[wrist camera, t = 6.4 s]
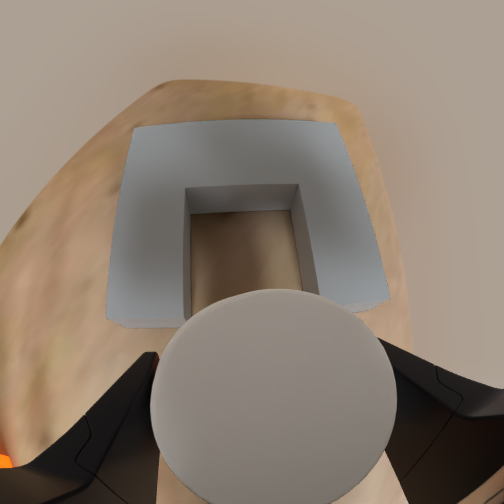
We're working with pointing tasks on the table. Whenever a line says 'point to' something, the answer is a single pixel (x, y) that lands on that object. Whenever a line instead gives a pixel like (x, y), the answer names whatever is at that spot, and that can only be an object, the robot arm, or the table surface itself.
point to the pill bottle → (273, 400)
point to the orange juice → (5, 462)
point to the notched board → (236, 200)
